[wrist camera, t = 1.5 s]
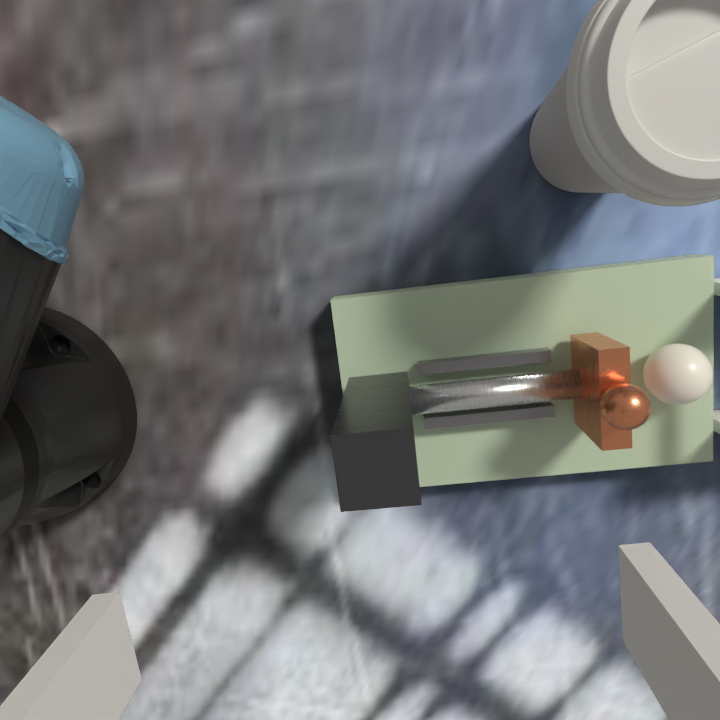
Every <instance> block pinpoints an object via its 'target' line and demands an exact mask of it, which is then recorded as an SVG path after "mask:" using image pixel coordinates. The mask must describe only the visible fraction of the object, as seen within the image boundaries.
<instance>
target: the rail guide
mask: <svg viewBox="0 0 720 720" xmlns="http://www.w3.org/2000/svg"><path fill="white" fill-rule="evenodd" d="M542 362H552V354H551V350H550V349H549V348H547V347H546V348H537V349H527V350H518V351H508V352H499V353H490V354H480V355H471V356H461V357H452V358H443V359H433V360H424V361H418V370H419V375H427V374H437V373H446V372H456V371H466V370H475V369H485V368H494V367H504V366H513V365H523V364H533V363H542ZM547 417H555V409H554V405H553V404H552V403H551V402H542V403H532V404H522V405H512V406H502V407H492V408H482V409H471V410H461V411H451V412H441V413H431V414H423V418H424V426H425V429H433V428H443V427H453V426H464V425H474V424H484V423H495V422H505V421H515V420H526V419H536V418H547Z"/></svg>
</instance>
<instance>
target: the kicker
mask: <svg viewBox="0 0 720 720" xmlns="http://www.w3.org/2000/svg"><path fill="white" fill-rule="evenodd" d="M570 339H571V361H572V369H568V370H559V371H549V372H539V373H529V374H520V375H510V376H500V377H491V378H481V379H471V380H461V381H452V382H442V383H432V384H423V385H413V386H409V381H408V372H407V371H406V372H396V373H387V374H377V375H368V376H358V377H349V379H348V382H347V385H346V388H345V391H344V395H343V398H342V401H341V404H340V407H339V410H338V413H337V416H336V419H335V422H334V425H333V429H332V432H331V435H330V437H331V444H332V452H333V459H334V466H335V473H336V480H337V487H338V495H339V502H340V509H341V512H344V511H356V510H367V509H379V508H391V507H402V506H414V505H422V504H421V495H420V485H419V475H418V466H417V456H416V447H415V437H414V427H413V418H412V415H419V414H430V413H440V412H450V411H460V410H470V409H480V408H490V407H500V406H511V405H521V404H531V403H541V402H551V401H561V400H571V399H573V403H574V423H575V424H576V425H577V426H578V427H579V428H580V429H581V430H582V431H583V432H584V433H585V434H586V435H587V436H588V437H589V438H590V439H591V440H592V441H593V442H594V443H595V444H596V445H597V446H598V447H599V448H600V449H601V450H602V451H607V450H618V449H629V448H632V429H636V428H638V427H640V426H641V425H643V424H644V423H645V422H646V421H647V419H648V418H649V416H650V412H651V403H650V399H649V397H648V395H647V394H646V393H645V392H644V391H643V390H642V389H641V388H640V387H638V386H636V385H633V384H631V372H630V347H629V346H627V345H625V344H622V343H620V342H618V341H616V340H614V339H611V338H609V337H607V336H605V335H603V334H601V333H598V332H593V333H584V334H575V335H570Z"/></svg>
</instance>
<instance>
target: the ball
mask: <svg viewBox="0 0 720 720" xmlns="http://www.w3.org/2000/svg"><path fill="white" fill-rule="evenodd" d="M643 379H644V383H645V385H646V387H647V389H648V390H649V391H650V393H651V394H652V395H653V396H655V397H656V398H657V399H659V400H661V401H663V402H665V403H669V404H674V405H683V404H689V403H692V402H694V401H696V400H698V399H700V398H701V397H703V396H704V395H705V394H706V393H707V391H708V390H709V388H710V386H711V384H712V381H713V368H712V365H711V363H710V361H709V359H708V358H707V356H706V355H705V354H704V353H703V352H702V351H700V350H699V349H697V348H695V347H693V346H690V345H686V344H669V345H665V346H663V347H660V348H659V349H657V350H656V351H654V352H653V353H652V354H651V355H650V356H649V357H648V359H647V361H646V363H645V365H644V369H643Z"/></svg>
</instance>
